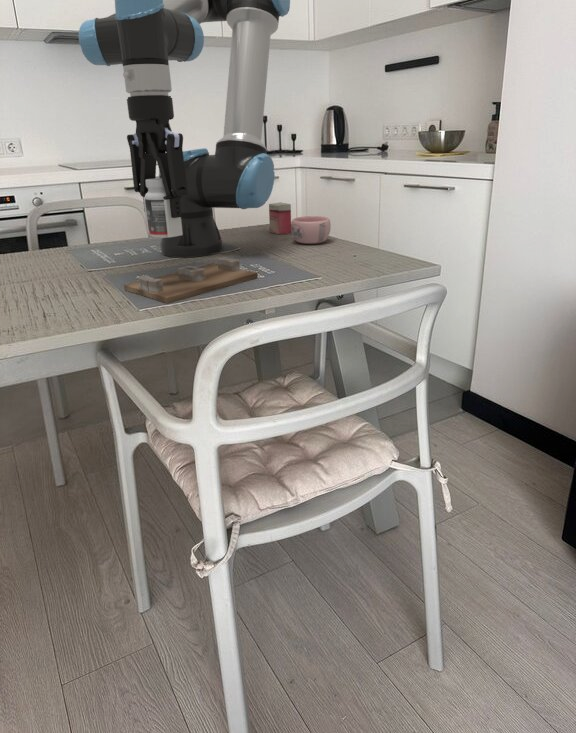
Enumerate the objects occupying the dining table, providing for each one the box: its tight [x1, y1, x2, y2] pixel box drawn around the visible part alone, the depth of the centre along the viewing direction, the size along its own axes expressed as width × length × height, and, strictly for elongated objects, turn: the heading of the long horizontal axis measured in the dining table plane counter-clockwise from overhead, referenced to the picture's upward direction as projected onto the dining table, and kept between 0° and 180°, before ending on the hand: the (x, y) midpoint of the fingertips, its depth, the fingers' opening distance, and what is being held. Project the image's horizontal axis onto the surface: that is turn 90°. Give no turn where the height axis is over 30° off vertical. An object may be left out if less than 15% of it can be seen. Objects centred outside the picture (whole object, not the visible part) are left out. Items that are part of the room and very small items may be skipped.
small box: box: [268, 202, 292, 235], centre depth 159 cm, size 5×4×8 cm
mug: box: [291, 215, 332, 245], centre depth 146 cm, size 12×10×6 cm
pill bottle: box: [145, 177, 172, 239], centre depth 104 cm, size 6×6×10 cm
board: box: [123, 257, 258, 304], centre depth 112 cm, size 14×22×3 cm, turn 136°
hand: (164, 233), depth 106 cm, fingers closed on pill bottle, 6 cm apart
